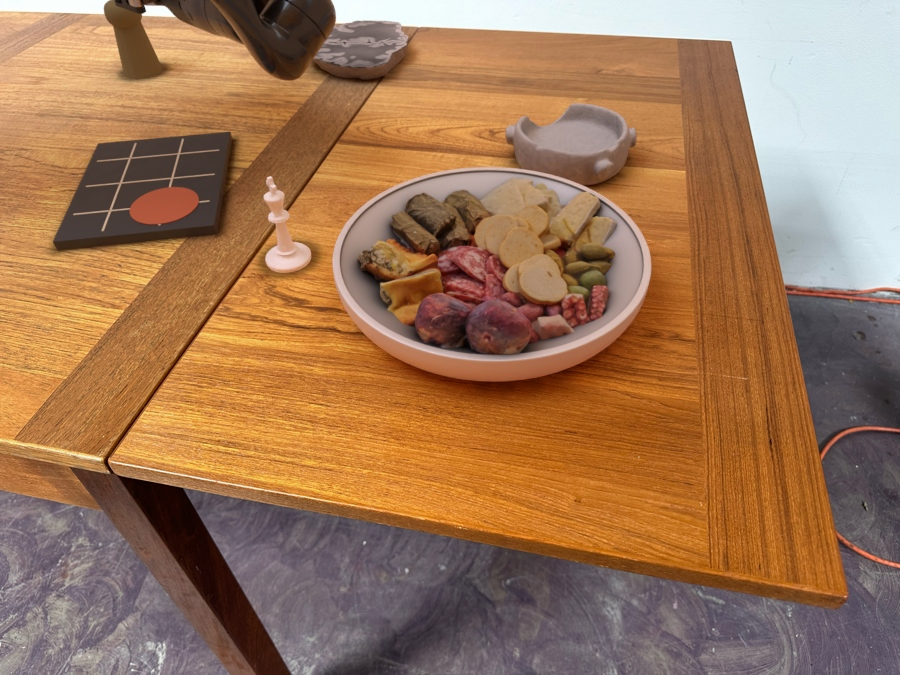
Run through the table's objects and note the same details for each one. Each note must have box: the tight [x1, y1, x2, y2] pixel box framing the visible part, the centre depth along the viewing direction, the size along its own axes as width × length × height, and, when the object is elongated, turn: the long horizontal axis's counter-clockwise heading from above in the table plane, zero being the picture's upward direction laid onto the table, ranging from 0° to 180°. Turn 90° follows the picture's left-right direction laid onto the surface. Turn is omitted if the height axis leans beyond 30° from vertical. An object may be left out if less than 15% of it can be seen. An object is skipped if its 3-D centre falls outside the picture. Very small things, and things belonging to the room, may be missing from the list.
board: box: [52, 131, 233, 252], centre depth 80 cm, size 17×22×2 cm
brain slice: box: [311, 20, 410, 81], centre depth 107 cm, size 20×17×3 cm
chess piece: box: [263, 175, 312, 274], centre depth 67 cm, size 5×5×10 cm
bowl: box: [331, 166, 652, 382], centre depth 64 cm, size 30×30×8 cm
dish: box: [504, 102, 638, 186], centre depth 82 cm, size 14×14×5 cm
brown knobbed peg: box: [103, 0, 163, 80], centre depth 102 cm, size 6×6×11 cm
